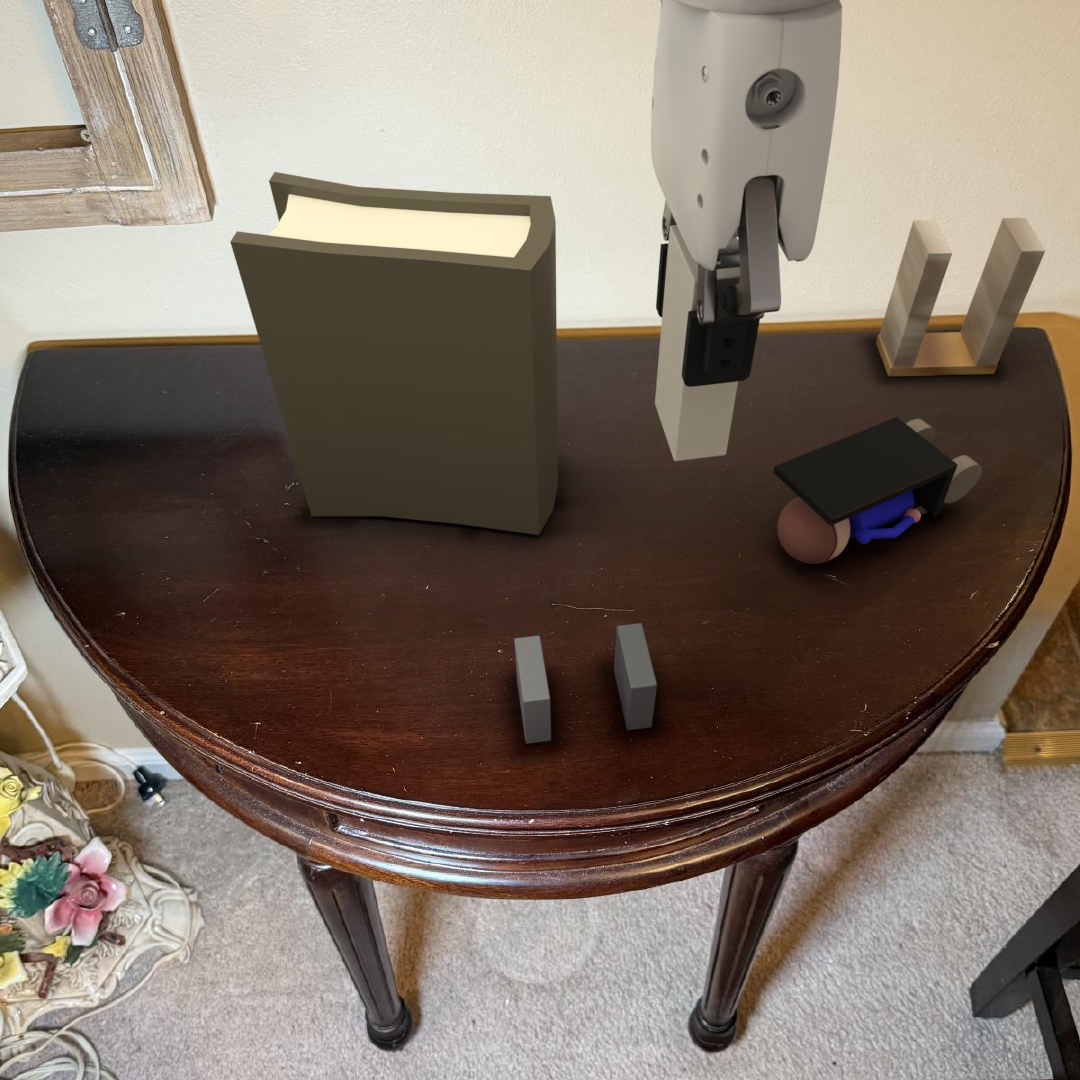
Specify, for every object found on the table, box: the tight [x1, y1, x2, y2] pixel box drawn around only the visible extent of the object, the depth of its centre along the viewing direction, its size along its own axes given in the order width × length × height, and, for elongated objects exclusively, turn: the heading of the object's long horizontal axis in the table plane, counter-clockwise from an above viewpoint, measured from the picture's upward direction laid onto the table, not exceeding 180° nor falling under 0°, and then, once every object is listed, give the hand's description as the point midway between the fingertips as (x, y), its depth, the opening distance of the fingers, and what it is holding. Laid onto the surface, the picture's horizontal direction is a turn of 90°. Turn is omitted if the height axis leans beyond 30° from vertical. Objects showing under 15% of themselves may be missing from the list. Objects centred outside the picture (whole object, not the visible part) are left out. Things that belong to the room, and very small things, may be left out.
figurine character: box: [773, 416, 983, 565], centre depth 70 cm, size 7×8×15 cm
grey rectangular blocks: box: [513, 622, 658, 744], centre depth 61 cm, size 8×5×5 cm, turn 98°
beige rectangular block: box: [654, 225, 740, 462], centre depth 48 cm, size 3×5×11 cm, turn 8°
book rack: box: [875, 217, 1046, 378], centre depth 80 cm, size 9×5×12 cm, turn 91°
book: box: [229, 171, 559, 536], centre depth 66 cm, size 18×8×24 cm, turn 81°
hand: (700, 341), depth 48 cm, fingers closed on beige rectangular block, 4 cm apart
